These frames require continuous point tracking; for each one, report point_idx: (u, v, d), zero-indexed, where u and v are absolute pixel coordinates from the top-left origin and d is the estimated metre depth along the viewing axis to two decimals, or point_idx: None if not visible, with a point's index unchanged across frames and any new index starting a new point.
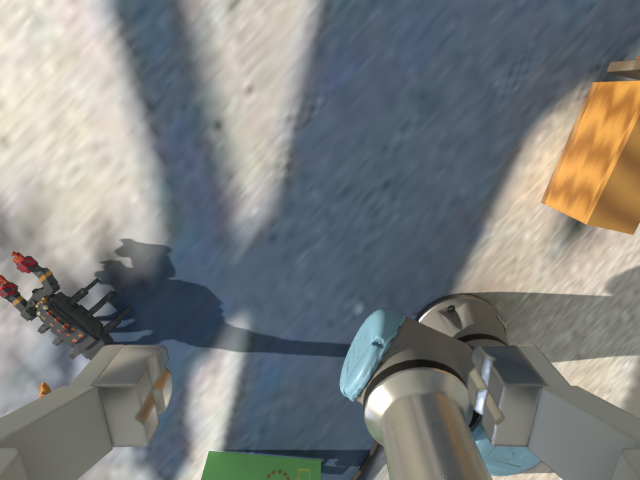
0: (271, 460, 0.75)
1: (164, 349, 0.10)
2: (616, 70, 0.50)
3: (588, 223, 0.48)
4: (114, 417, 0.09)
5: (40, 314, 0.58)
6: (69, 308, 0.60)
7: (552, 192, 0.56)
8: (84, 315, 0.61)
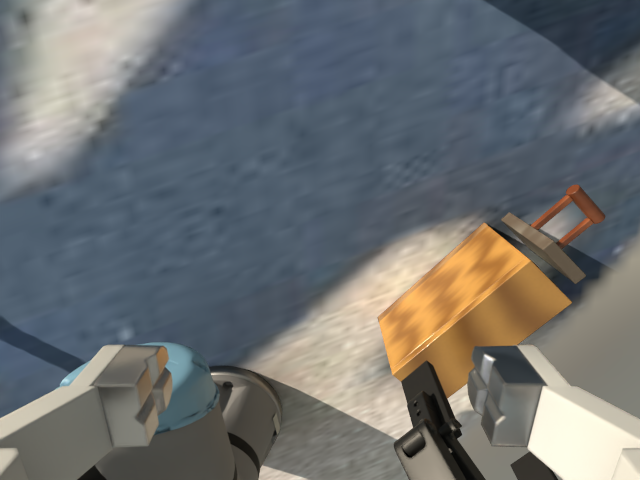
0: None
1: (164, 349, 0.10)
2: (508, 224, 0.42)
3: (395, 375, 0.39)
4: (114, 417, 0.09)
5: None
6: None
7: (390, 314, 0.47)
8: None
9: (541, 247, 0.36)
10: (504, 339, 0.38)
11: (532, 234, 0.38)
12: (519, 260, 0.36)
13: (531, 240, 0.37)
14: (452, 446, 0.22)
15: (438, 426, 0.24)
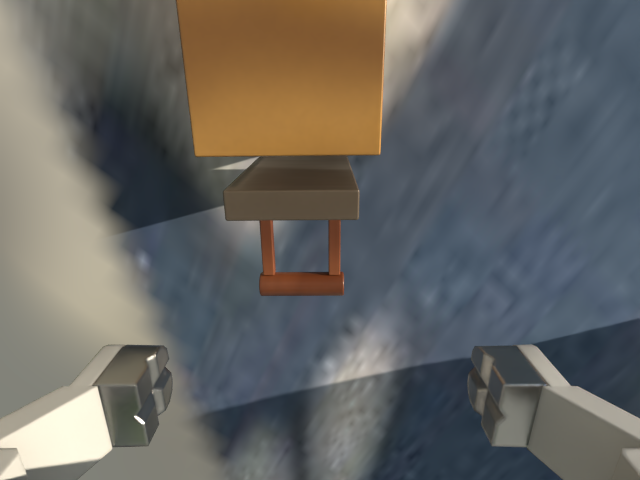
0: None
1: (164, 349, 0.10)
2: (348, 161, 0.21)
3: None
4: (114, 417, 0.09)
5: None
6: None
7: None
8: None
9: None
10: None
11: None
12: None
13: (355, 180, 0.17)
14: None
15: None
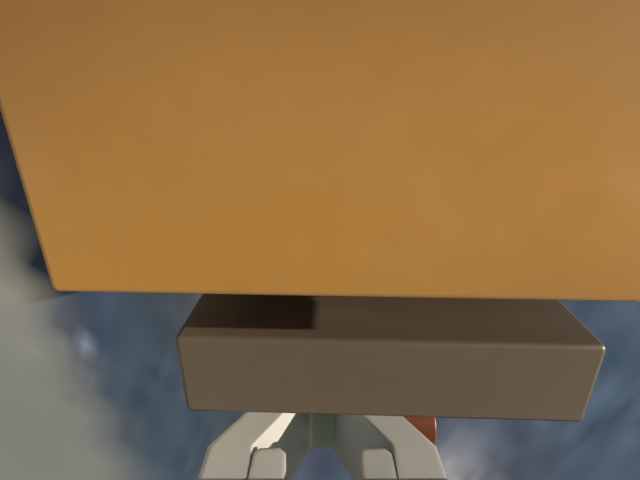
0: None
1: None
2: None
3: None
4: (318, 417, 0.09)
5: None
6: None
7: None
8: None
9: None
10: None
11: None
12: None
13: None
14: None
15: None
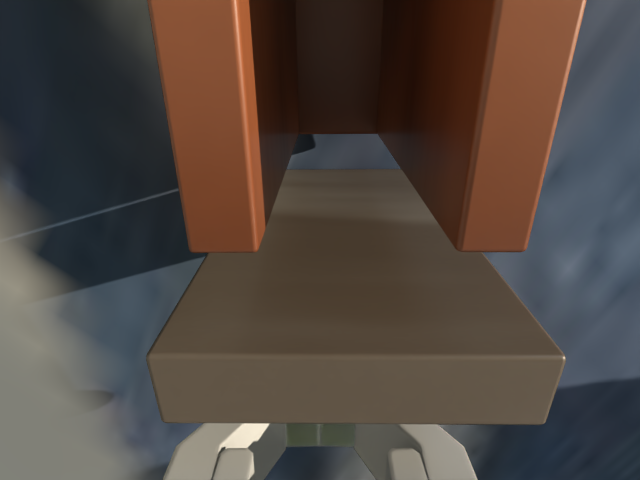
0: None
1: None
2: None
3: None
4: None
5: None
6: None
7: None
8: None
9: None
10: None
11: None
12: None
13: None
14: None
15: None
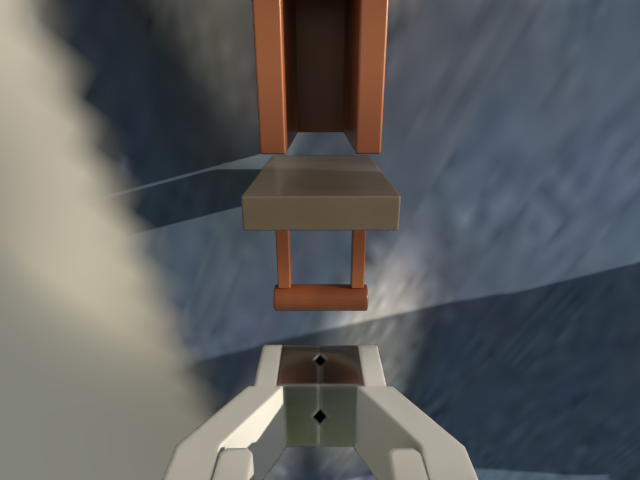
0: None
1: (320, 349, 0.10)
2: None
3: None
4: (292, 417, 0.09)
5: None
6: None
7: None
8: None
9: None
10: None
11: None
12: None
13: (389, 184, 0.15)
14: None
15: None
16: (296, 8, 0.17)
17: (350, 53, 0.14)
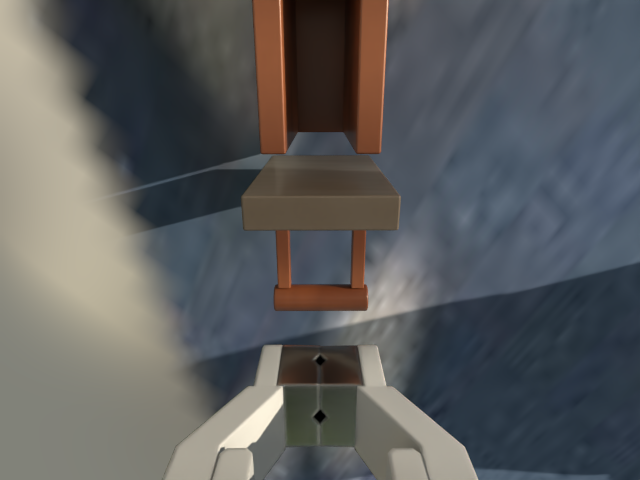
0: None
1: (320, 349, 0.10)
2: None
3: None
4: (292, 417, 0.09)
5: None
6: None
7: None
8: None
9: None
10: None
11: None
12: None
13: (389, 184, 0.15)
14: None
15: None
16: (296, 8, 0.17)
17: (350, 53, 0.14)
